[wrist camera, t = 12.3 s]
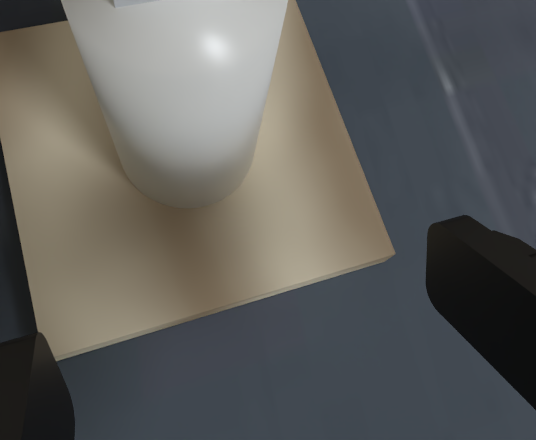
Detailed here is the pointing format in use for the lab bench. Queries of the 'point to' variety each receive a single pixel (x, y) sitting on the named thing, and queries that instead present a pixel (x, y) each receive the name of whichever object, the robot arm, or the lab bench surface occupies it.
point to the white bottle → (180, 88)
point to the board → (166, 217)
